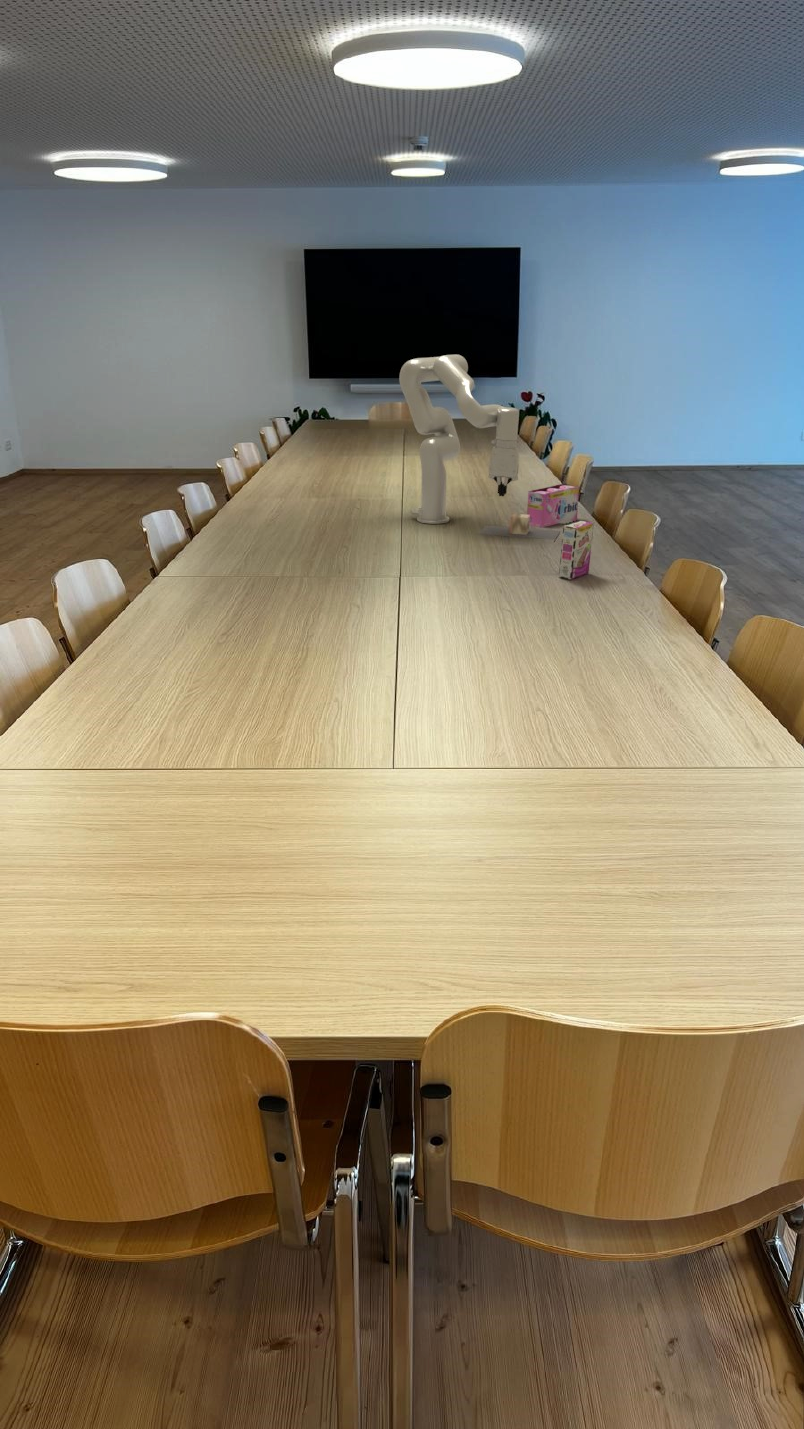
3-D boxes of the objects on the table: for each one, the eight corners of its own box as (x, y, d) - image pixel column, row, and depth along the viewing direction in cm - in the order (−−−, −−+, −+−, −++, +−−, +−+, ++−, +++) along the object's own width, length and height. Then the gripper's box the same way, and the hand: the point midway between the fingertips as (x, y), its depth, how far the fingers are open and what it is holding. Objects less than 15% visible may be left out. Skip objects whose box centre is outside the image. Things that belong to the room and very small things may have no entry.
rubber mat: (477, 536, 355) (478, 533, 354) (485, 528, 367) (485, 525, 367) (554, 542, 348) (554, 539, 347) (560, 533, 360) (560, 530, 360)
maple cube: (510, 517, 353) (527, 518, 351) (513, 513, 358) (529, 514, 357) (509, 533, 355) (526, 534, 354) (512, 529, 361) (528, 531, 359)
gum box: (563, 517, 386) (565, 483, 380) (579, 520, 381) (582, 485, 375) (525, 526, 370) (527, 490, 365) (542, 530, 365) (544, 493, 360)
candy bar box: (572, 580, 302) (576, 528, 296) (558, 577, 305) (562, 525, 299) (590, 573, 310) (594, 522, 304) (576, 570, 313) (580, 519, 307)
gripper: (483, 444, 345) (479, 495, 353) (525, 447, 341) (520, 499, 349) (487, 440, 351) (483, 491, 359) (528, 444, 348) (523, 495, 356)
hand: (501, 495), depth 354 cm, fingers closed
